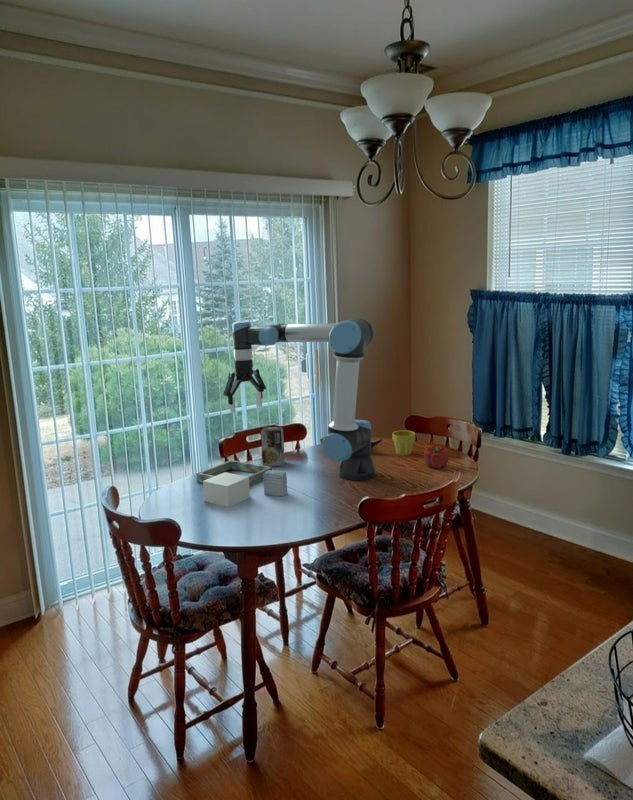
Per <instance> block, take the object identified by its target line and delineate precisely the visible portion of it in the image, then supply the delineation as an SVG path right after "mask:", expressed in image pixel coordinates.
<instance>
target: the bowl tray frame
mask: <svg viewBox="0 0 633 800" xmlns="http://www.w3.org/2000/svg"><path fill="white" fill-rule="evenodd" d="M227 470H228V471H229V470H235V471H236V470H237V471H241V472H246V473H247V472H248V473H252V474H251V475H248V476H247V477H249V487H251V486H253V485H255V484H257V483H259V482H261V481H264V478H263V474H264V473H265V472H266V471H268V470H272V471H273V467H272V466H263V464H255V463H250V462H246V461H245V462H244V461H239V460H233V459H230V460H227V461H226V462H222V463H220V464H217V465H215V466H213V467H209V468H208V469H204V470H202V471H200V472H196V482H197V483H201V484H203V481H204V480H207V479H209V478H212V477H214V476H217V475H219V474H222V473H224V472H228V471H227Z"/></svg>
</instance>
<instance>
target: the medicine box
mask: <svg viewBox="0 0 633 800" xmlns="http://www.w3.org/2000/svg"><path fill="white" fill-rule="evenodd" d="M263 478H264V479H263V494H264V496H272V497H273V496H274V497H285V496H286V495H287V493H288V481H287V480H288V479H287V478H288V477H287V471H285V470H283V471H281V470H273V469H272V470H268V471H266V472H265V473H264V474H263Z"/></svg>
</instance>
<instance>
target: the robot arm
mask: <svg viewBox="0 0 633 800" xmlns="http://www.w3.org/2000/svg"><path fill="white" fill-rule="evenodd" d="M231 325H232V333H231V335H232V342H233V358H234V359H235V360H234V370H235V372H231V371H230V372H228V379H227V383H226V385H225V388H224V391H223V394H222V395H223V396H225V397H227V403H228V405H229V411H230V413H236V398H235V396H234V395H235V393H236V391H237V389H238V388H239V386H240V385H241V384H242V383H244V382H250V383H251V385H252V386H253V387H254V389H256V391H255V399H256V401H255V402H256V407H257V408H262V407H263V402H262V400H263V393H264V392H265V390H266V389H267V387H266V384H265V382H264V381H263V378H262V376H261V374H260V370H259V368H254V364H253V363H254V362H253V348H252V347H253V346H266V347H268V346H274V345H275V344H277V343H329V345H330V346H331V348H332V352H333V353H332V356H333V357H334V358H335V359H336V362H335V363H336V366H335V367H336V368H335V378H334V379H335V380H334V381H335V382H334V395H333V396H334V397H333V411H332V421H330V422H329V423H328V426H327V434H326V435H325V436H324V437H325V438H324V440H323V443H322V444H321V445H322V450H323V452H324V454H325V455H326V456H327V458H328V459H329V460H332V461H333V462H340V464H339V468H338V475H339V477H340V478H341V479H345V480H351V481H364V480H368V479H373V478H374V477H375V476H376V474H377V473H376V472H377V471H376V470H377V469H376V467H375V462H374V461H373V458H372V449H371V439H372V425H371V422H370V421H369V420H365V419H364V420H363V419H356V411H357V410H356V409H357V398H358V397H357V396H358V384H359V374H360V373H359V372H360V361H361V360H363V359H364V357H365V348H368V346H370V345H371V344H372V343H373V341H374V338H375V329H374V326H373V325H372V323H371V322H370V321H368V320H367V319H364V318H354V319H345V320H342V321H339V322H337V323H335V322H333V323H328V322H327V323H277V324H271V325H263V326H262V325H261V326H252V325H251V322H250V321H247V320H246V321H235V322H233V323H232V324H231ZM253 375H254V376H253Z"/></svg>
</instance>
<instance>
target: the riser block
mask: <svg viewBox="0 0 633 800" xmlns="http://www.w3.org/2000/svg"><path fill="white" fill-rule="evenodd" d="M202 486H203V487H202V488H203V489H202V491H203V501H204V502H206V503H211V504H215V505H219V506H222V507H227V508H229V507H231V506H233V505H235V504H238V503H240V502H242V501H244V500H246V499H248V498H250V497H251V493H250V491H251V490H250V486H249V477H248V476H246V475H241V474H235V473H231V472H227V471H225V472H223V473H221V474H218V475H216V476H214V477H212V478H209V479H207V480H204V481H203V483H202Z"/></svg>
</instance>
